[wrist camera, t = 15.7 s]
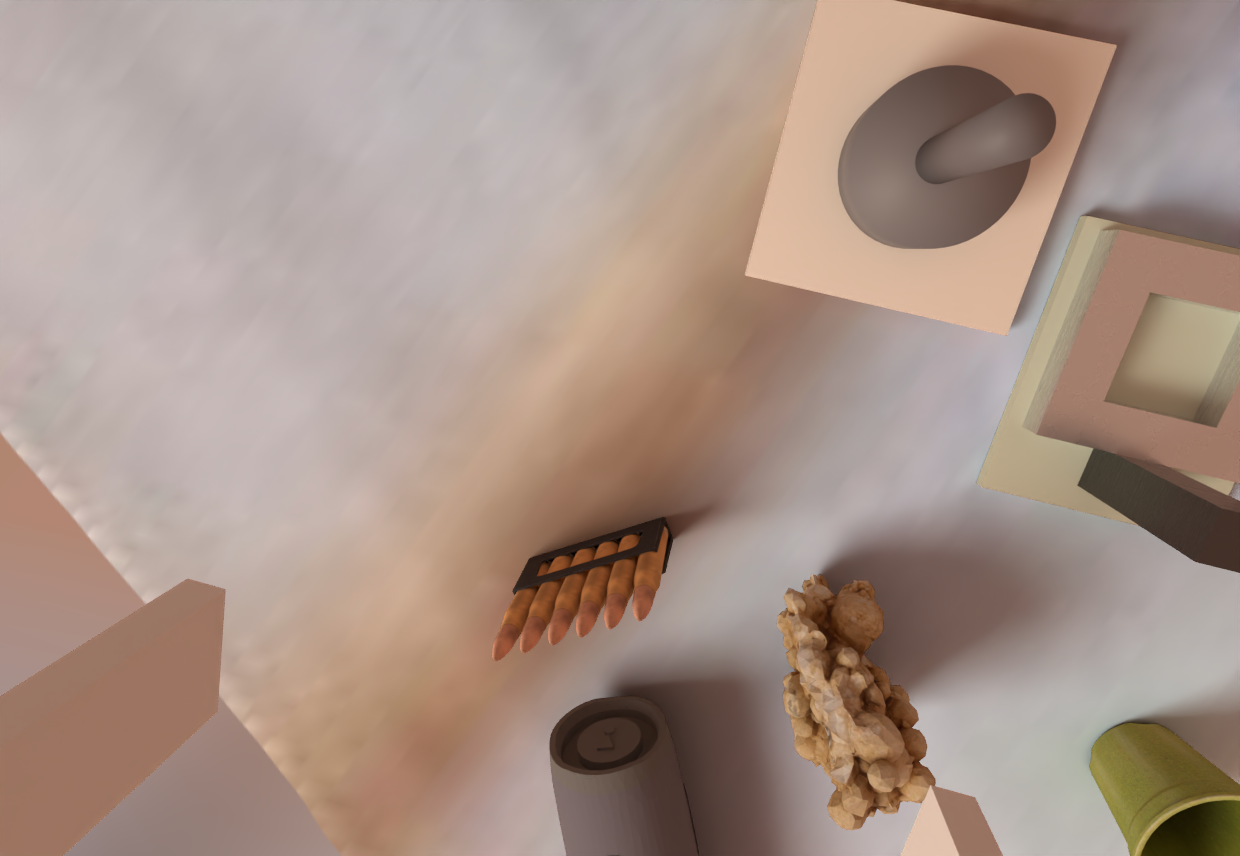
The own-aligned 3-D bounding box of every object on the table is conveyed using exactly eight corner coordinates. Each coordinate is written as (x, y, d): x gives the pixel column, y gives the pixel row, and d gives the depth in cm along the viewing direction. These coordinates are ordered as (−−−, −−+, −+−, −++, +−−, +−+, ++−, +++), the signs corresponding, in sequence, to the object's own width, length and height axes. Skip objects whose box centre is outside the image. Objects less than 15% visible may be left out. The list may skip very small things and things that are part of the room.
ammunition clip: (664, 516, 48) (649, 600, 37) (673, 539, 49) (661, 630, 37) (528, 558, 50) (473, 650, 39) (537, 580, 51) (486, 677, 39)
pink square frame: (1100, 230, 39) (1241, 223, 29) (1316, 277, 39) (1543, 288, 28) (1005, 467, 43) (1099, 537, 33) (1199, 515, 43) (1359, 602, 32)
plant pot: (1241, 757, 47) (1354, 867, 39) (1127, 835, 50) (1210, 953, 41) (1143, 674, 47) (1236, 766, 38) (1033, 757, 49) (1098, 860, 41)
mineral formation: (796, 725, 51) (829, 913, 37) (740, 567, 48) (751, 702, 34) (906, 701, 49) (986, 887, 35) (854, 536, 47) (916, 663, 32)
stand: (819, -7, 39) (881, -156, 25) (1104, 51, 38) (1344, -70, 24) (744, 274, 43) (760, 287, 29) (998, 333, 42) (1146, 376, 28)
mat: (1080, 216, 40) (1087, 215, 39) (1328, 270, 39) (1340, 271, 38) (976, 482, 45) (981, 486, 44) (1196, 536, 44) (1204, 541, 43)
